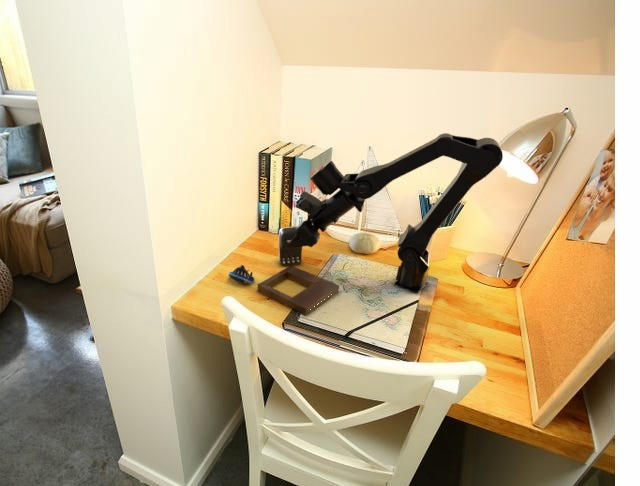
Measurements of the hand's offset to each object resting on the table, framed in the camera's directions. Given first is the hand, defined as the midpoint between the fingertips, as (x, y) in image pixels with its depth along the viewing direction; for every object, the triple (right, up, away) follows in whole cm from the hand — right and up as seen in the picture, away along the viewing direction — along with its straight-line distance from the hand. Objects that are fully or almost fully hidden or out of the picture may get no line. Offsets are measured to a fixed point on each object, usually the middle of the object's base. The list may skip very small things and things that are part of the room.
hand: (293, 239), depth 113 cm
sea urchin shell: (+23, -2, +11) cm, 26 cm away
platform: (0, -15, -8) cm, 17 cm away
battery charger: (0, -7, +4) cm, 8 cm away
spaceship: (-15, -12, -3) cm, 19 cm away
